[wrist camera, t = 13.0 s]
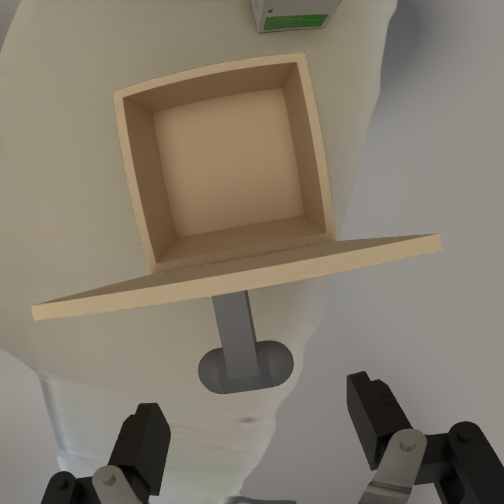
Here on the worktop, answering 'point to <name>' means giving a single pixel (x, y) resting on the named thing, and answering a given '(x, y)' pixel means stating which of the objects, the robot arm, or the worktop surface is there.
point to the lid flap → (240, 301)
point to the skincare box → (292, 14)
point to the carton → (225, 162)
